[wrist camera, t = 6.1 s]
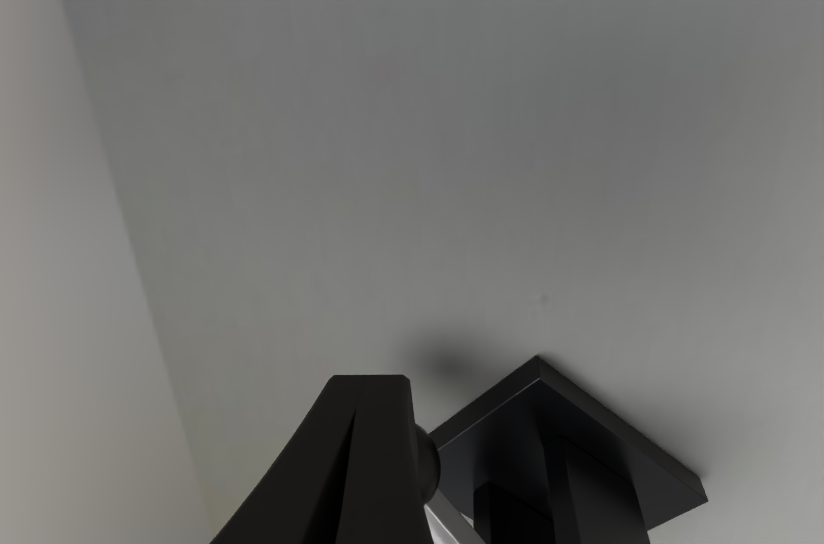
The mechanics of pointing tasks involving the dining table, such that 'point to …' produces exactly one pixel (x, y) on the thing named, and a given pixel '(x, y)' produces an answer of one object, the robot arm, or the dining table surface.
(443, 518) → the lever
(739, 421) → the dining table surface
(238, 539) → the robot arm
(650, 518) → the bracket
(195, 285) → the dining table surface
